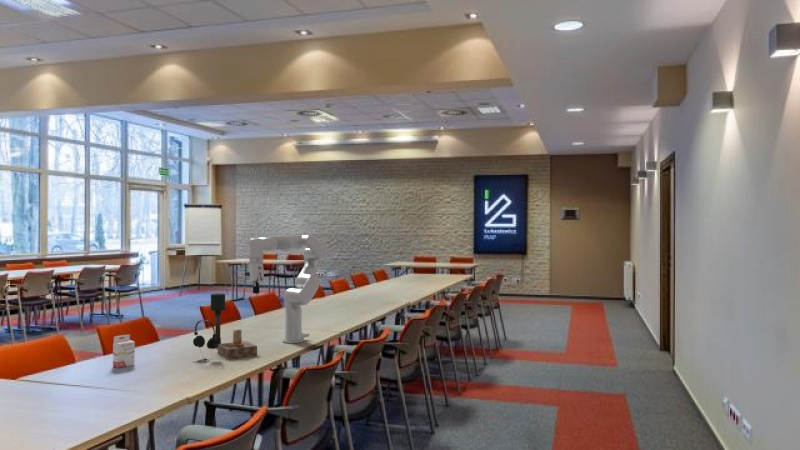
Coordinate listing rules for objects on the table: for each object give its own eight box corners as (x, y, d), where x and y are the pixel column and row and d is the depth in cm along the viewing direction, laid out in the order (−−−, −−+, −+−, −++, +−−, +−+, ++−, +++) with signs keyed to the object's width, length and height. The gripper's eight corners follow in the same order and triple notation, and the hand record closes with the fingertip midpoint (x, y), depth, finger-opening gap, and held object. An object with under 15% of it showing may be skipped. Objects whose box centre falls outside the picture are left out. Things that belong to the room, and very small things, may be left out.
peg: (241, 351, 308) (241, 328, 308) (245, 354, 303) (245, 330, 303) (229, 353, 305) (229, 329, 305) (233, 355, 299) (233, 331, 299)
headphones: (182, 360, 290) (182, 321, 290) (199, 356, 300) (200, 318, 300) (204, 363, 283) (204, 323, 283) (221, 359, 293) (221, 320, 293)
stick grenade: (228, 345, 326) (228, 293, 326) (222, 348, 317) (222, 295, 317) (213, 345, 327) (214, 293, 327) (207, 348, 318) (207, 294, 318)
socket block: (246, 349, 315) (246, 340, 315) (257, 355, 302) (257, 345, 302) (217, 353, 306) (217, 344, 306) (227, 359, 293) (227, 349, 293)
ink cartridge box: (118, 368, 274) (118, 337, 274) (112, 366, 277) (112, 336, 277) (135, 364, 281) (135, 334, 281) (129, 363, 284) (129, 333, 284)
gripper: (267, 260, 313) (267, 294, 313) (257, 259, 325) (257, 291, 325) (254, 261, 309) (254, 295, 309) (245, 259, 321) (245, 292, 321)
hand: (256, 293), depth 317 cm, fingers closed
